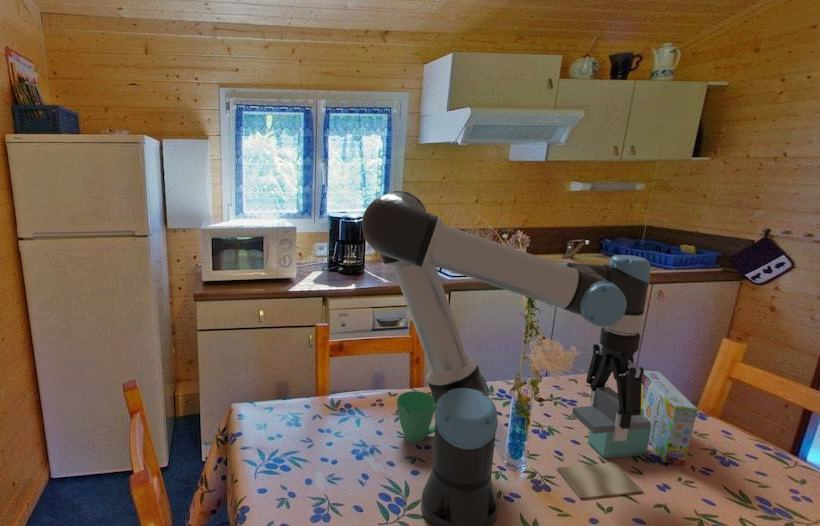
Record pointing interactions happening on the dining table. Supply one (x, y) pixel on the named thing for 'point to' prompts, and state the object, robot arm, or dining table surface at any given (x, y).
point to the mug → (416, 414)
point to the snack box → (667, 417)
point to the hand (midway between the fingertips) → (606, 428)
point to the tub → (620, 443)
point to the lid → (606, 413)
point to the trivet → (598, 480)
